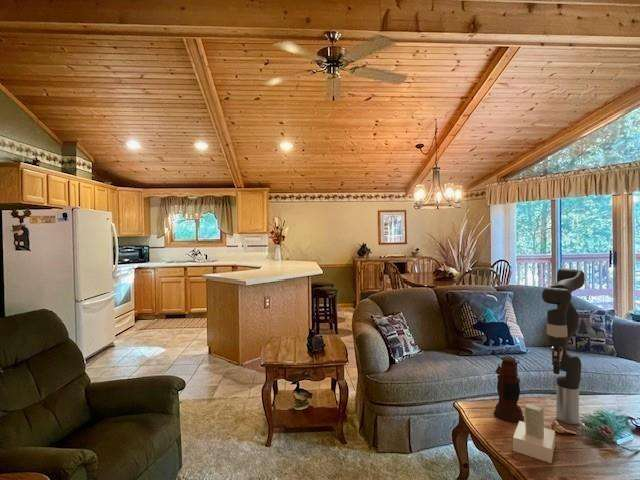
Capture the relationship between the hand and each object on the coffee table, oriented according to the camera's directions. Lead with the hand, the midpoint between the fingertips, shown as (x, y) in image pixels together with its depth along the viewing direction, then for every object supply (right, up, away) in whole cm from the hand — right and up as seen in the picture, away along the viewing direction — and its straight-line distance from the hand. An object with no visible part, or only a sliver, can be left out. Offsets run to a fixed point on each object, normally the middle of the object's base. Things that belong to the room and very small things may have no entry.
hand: (557, 370), depth 156 cm
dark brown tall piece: (-7, -33, +27) cm, 43 cm away
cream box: (-10, -34, +1) cm, 35 cm away
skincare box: (-10, -28, 0) cm, 30 cm away
